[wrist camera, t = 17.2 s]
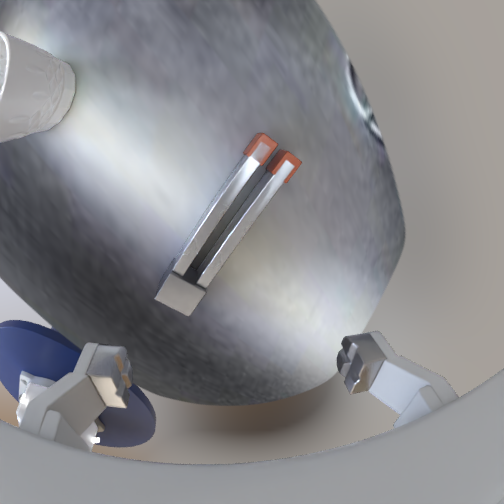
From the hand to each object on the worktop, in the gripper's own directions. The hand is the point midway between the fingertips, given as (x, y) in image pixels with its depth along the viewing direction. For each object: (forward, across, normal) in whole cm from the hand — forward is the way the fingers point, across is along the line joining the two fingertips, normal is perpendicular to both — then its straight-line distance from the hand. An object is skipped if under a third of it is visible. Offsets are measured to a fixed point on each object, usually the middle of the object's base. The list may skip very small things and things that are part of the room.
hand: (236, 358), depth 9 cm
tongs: (+15, 0, 0) cm, 15 cm away
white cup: (+15, +16, -13) cm, 25 cm away
